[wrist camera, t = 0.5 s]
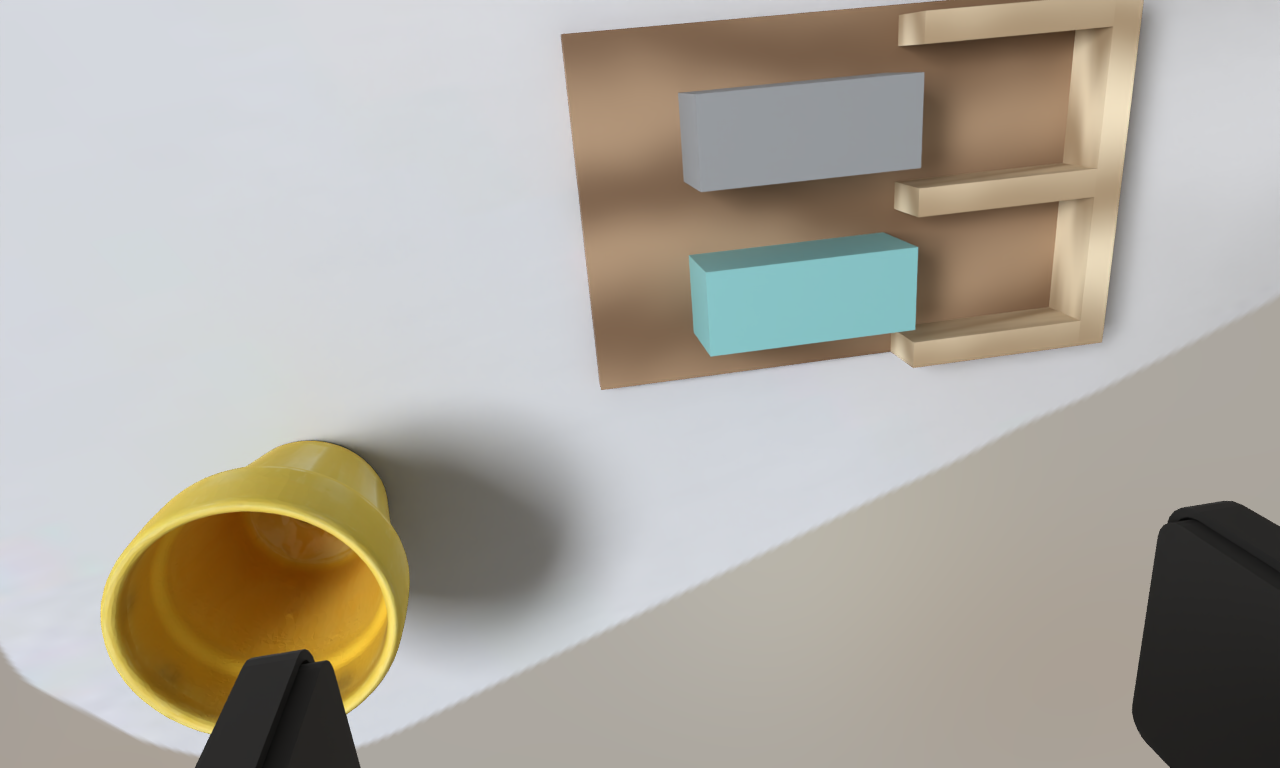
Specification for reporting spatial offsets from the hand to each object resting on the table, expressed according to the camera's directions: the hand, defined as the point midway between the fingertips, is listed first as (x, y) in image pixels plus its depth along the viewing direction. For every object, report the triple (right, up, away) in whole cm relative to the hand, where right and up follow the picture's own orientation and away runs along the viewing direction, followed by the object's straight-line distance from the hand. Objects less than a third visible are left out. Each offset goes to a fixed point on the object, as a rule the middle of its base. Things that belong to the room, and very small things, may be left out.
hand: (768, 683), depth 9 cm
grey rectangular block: (+5, +14, +26) cm, 30 cm away
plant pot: (-17, -2, +30) cm, 34 cm away
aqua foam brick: (+5, +8, +28) cm, 30 cm away
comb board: (+8, +12, +28) cm, 32 cm away
